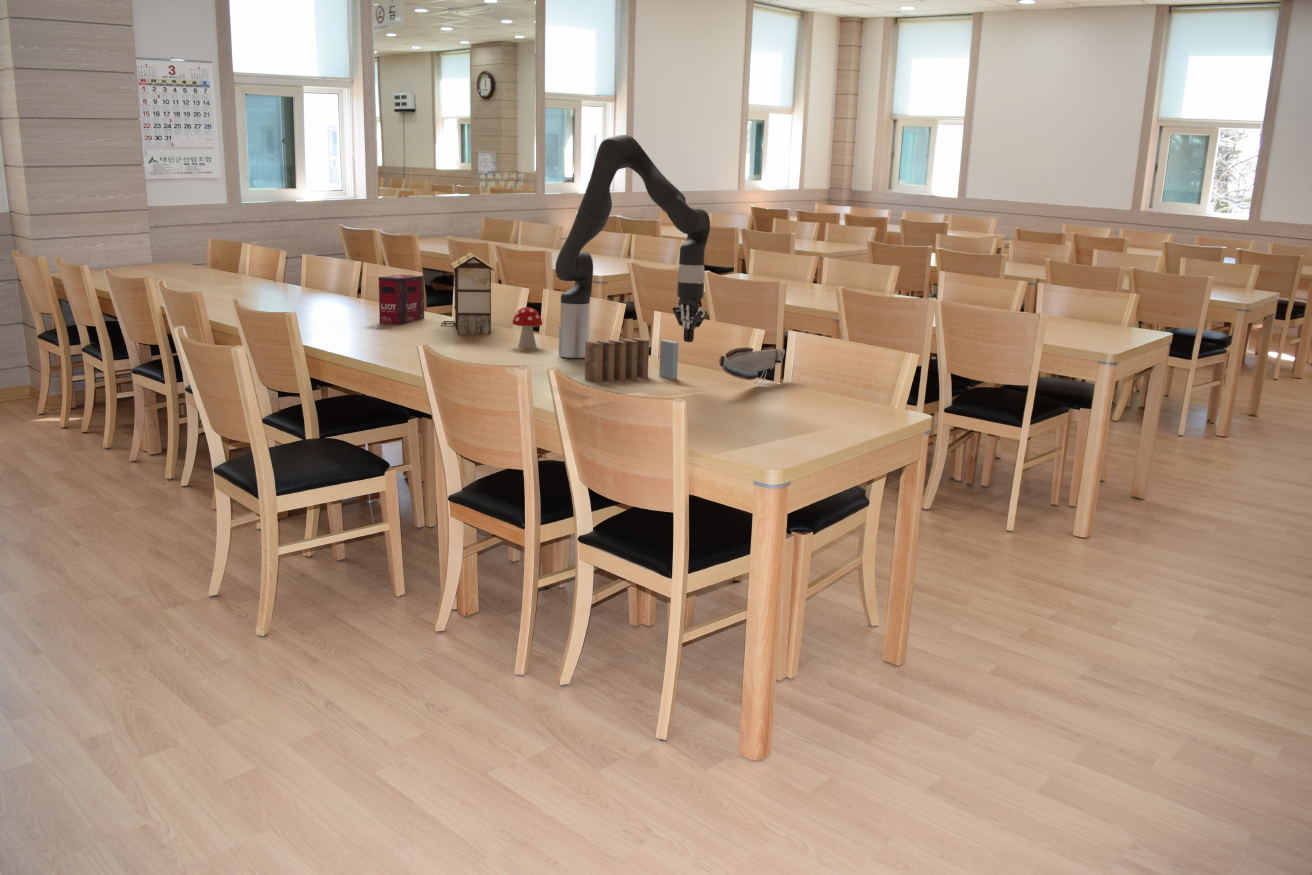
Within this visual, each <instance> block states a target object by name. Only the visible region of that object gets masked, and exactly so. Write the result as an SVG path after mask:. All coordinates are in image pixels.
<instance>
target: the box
mask: <svg viewBox="0 0 1312 875" xmlns="http://www.w3.org/2000/svg"><path fill="white" fill-rule="evenodd" d="M424 277H425V276H423V275H412V274H411V275H410V274H397V275H388V276H386V275H385V276H378V303H379V305H378V306H379V307H378V309H379V312H378V313H379V324H384V325H385V324H386V325H396V326H398V325H399V326H402V325H406V324H409V323H413V322H416V321H419V320H424V319H425V287H424V286H425V284H424V283H425V281H424V280H425V279H424Z"/></svg>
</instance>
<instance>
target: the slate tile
mask: <svg viewBox="0 0 1312 875" xmlns="http://www.w3.org/2000/svg"><path fill="white" fill-rule="evenodd" d="M678 360H679V342H678V341H673V340H672V341H671V340H666V339H661V340H660V349H659V375H658V376H659V377H661V378H664V379H665V378H666V379H669V380H671V381H673V380H677V379H678V362H679V361H678Z"/></svg>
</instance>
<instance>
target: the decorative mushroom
mask: <svg viewBox="0 0 1312 875" xmlns="http://www.w3.org/2000/svg"><path fill="white" fill-rule="evenodd" d="M512 324H513V325H514V326H517V327H521V332H520V337H519V341H518V345H517V348H520V349H534V348H535V347H536V348H537V347H538V346H537V344H536V339H535V334H534V327H541V326H542V325H543V321H542V318H541V315H540V314H539V311H537V309H534V308H533V307H529V306H527V307H522V308H520V309H518V310H517V311H516V312H515V315H514V317H513V320H512Z"/></svg>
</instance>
